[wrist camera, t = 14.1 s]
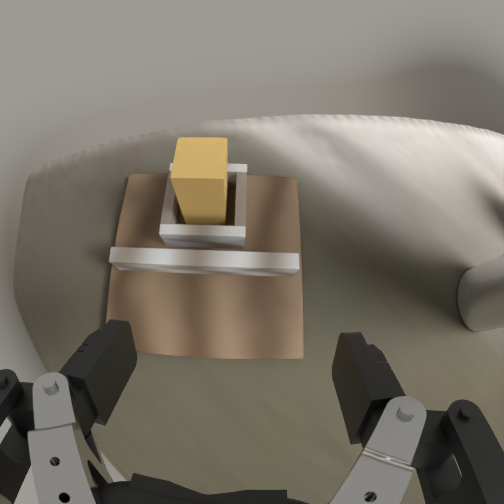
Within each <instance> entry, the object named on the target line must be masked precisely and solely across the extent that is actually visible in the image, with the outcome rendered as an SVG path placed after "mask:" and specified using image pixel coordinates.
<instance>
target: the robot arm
mask: <svg viewBox="0 0 504 504" xmlns="http://www.w3.org/2000/svg"><path fill="white" fill-rule="evenodd" d="M458 306H459V311H460V315H461V317H462V319H463V322H464V323H465V325H466V326H467V327H468V328H469V329H470V330H472V331H475V332H480V331H486V330H492V329H498V328H503V327H504V254H503V255H501V256H499V257H497V258H494V259H492V260H490V261H488V262H485V263H483V264H481V265H479V266H476V267H474V268H472V269H469V270H468V271H466V272H465V273H464V274H463V276H462V278H461V280H460V283H459V287H458ZM136 362H137V352H136V348H135V343H134V339H133V334H132V329H131V325H130V323H129V322H128V321H121V320H114V319H110V320H109V321H108V322H107V323H106V324H105V326H104V327H103V328H102V329H101V330H99V329H98V330H97V331H95V332H94V333H92V334H90V335H89V336H88V337H87V338H86V339H85V341H84V342H83V343H82V345H80V347H79V348H78V349H77V351H76V352H75V353H74V354H73V355H72V356H71V358H70V359H69V360H68V361H67V363H66V364H65V365H64V366H63V368H62V369H61V370H60V372H59V373H55V372H52V373H47V374H44V375H42V376H40V377H39V378H38V379H37V380H36V381H35V382H34V383H26V382H19V380H18V378H17V376H16V374H15V373H14V372H13V371H12V370H9V369H4V370H0V426H1V425H2V423H3V422H4V420H5V419H6V417H7V418H8V419H9V421H10V422H11V424H12V425H11V427H10V429H9V430H8V432H7V434H6V435H5V437H4V439H3V440H2V442H1V444H0V504H14V502H15V499H16V497H17V495H18V492H19V490H20V488H21V485H22V483H23V481H24V479H25V476H26V474H27V472H28V470H29V468H30V465H31V466H32V471H33V477H34V482H35V487H36V492H37V496H38V500H39V504H308V503H305V502H303V501H299V500H295V499H290V498H287V490H243V491H237V492H229V493H221V494H212V495H206V494H201V493H199V492H196V491H193V490H190V489H187V488H185V487H182V486H180V485H177V484H175V483H172V482H170V481H166V480H161V479H157V478H152V477H148V476H144V475H139V474H136V473H133V476H132V479H131V481H119V482H113V480H112V478H111V476H110V475H109V473H108V471H107V469H106V466H105V464H104V461H103V458H102V456H101V453H100V450H99V447H98V444H97V441H96V438H95V435H94V432H93V430H92V426H93V424H94V422H95V423H98V424H101V425H106V423H107V421H108V419H109V417H110V415H111V413H112V411H113V409H114V407H115V405H116V403H117V401H118V399H119V397H120V395H121V393H122V392H123V390H124V388H125V386H126V384H127V382H128V380H129V378H130V376H131V374H132V372H133V370H134V369H135V366H136ZM332 378H333V382H334V386H335V389H336V393H337V396H338V400H339V403H340V407H341V410H342V414H343V417H344V421H345V425H346V428H347V432H348V436H349V440H350V444H358V443H362V447H363V450H362V452H361V453H360V455H359V457H358V459H357V460H356V462H355V464H354V465H353V467H352V468H351V470H350V472H349V473H348V475H347V476H346V478H345V479H344V481H343V482H342V484H341V485H340V487H339V488H338V490H337V491H336V493H335V494H334V496H333V497H332V498H331V500H330V501H329V502H328V504H399V503H400V501H401V499H402V497H403V495H404V492H405V490H406V488H407V485H408V483H409V481H410V478H411V476H412V473H413V470H414V468H416V471H417V474H418V478H419V481H420V484H421V488H422V491H423V495H424V499H425V502H426V504H504V452H503V450H502V448H501V446H500V444H499V442H498V440H497V438H496V437H495V435H494V433H493V431H492V429H491V427H490V426H489V424H488V422H487V420H486V419H485V417H484V415H483V414H482V412H481V410H480V409H479V407H478V406H477V405H476V404H474V403H473V402H471V401H468V400H457V401H455V402H453V403H452V404H451V405H450V407H449V408H448V410H447V411H431V410H426V409H425V407H424V406H423V404H422V403H421V402H419V401H418V400H416V399H414V398H412V397H407V396H406V395H405V393H404V391H403V389H402V387H401V386H400V384H399V382H398V380H397V378H396V376H395V374H394V372H393V371H392V370H391V367H390V365H389V363H387V360H386V358H385V356H384V354H383V353H382V351H380V350H379V349H378V348H377V347H376V346H374V345H373V344H370V345H367V343H366V341H365V339H364V337H363V335H362V333H361V332H352V333H341V334H340V336H339V339H338V344H337V348H336V352H335V356H334V361H333V365H332ZM454 456H455V458H456V461H457V463H458V466H459V468H460V471H461V474H462V478H461V475H460V472H459V470H458V467H457V465H456V462H455V460H454Z"/></svg>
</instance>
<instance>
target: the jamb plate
mask: <svg viewBox="0 0 504 504" xmlns="http://www.w3.org/2000/svg"><path fill="white" fill-rule="evenodd" d="M172 166H173V163H170V169H169V173H153V174H130V175H129V179H128V183H127V187H126V191H125V196H124V200H123V205H122V210H121V215H120V220H119V225H118V230H117V236H116V242H115V247H111V251H110V257H109V262H110V263H111V264H112V268H111V276H110V284H109V294H108V304H107V316H106V323H107V322H108V321H109V320H110V319H114V320H121V321H128V322H129V323H130V325H131V329H132V334H133V339H134V343H135V348H136V352H145V353H154V354H164V355H175V356H189V357H205V358H229V359H293V358H303V291H302V259H301V236H300V217H299V201H298V186H297V178H292V177H278V176H261V175H247V164H227V196H228V197H227V213H226V226H216V225H186V223H185V220H184V217H183V214H182V212H181V209H180V206H179V203H178V200H177V197H176V194H175V191H174V188H173V185H172V182H171V178H170V177H171V172H172Z"/></svg>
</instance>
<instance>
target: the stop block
mask: <svg viewBox="0 0 504 504" xmlns="http://www.w3.org/2000/svg"><path fill="white" fill-rule="evenodd" d="M170 178H171V182H172V185H173V188H174V191H175V194H176V197H177V200H178V203H179V206H180V209H181V212H182V214H183V217H184V220H185V223H186V225H216V226H226V213H227V197H228V196H227V138H208V137H179V138H178V142H177V147H176V151H175V156H174V161H173V166H172V172H171V177H170Z"/></svg>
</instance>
